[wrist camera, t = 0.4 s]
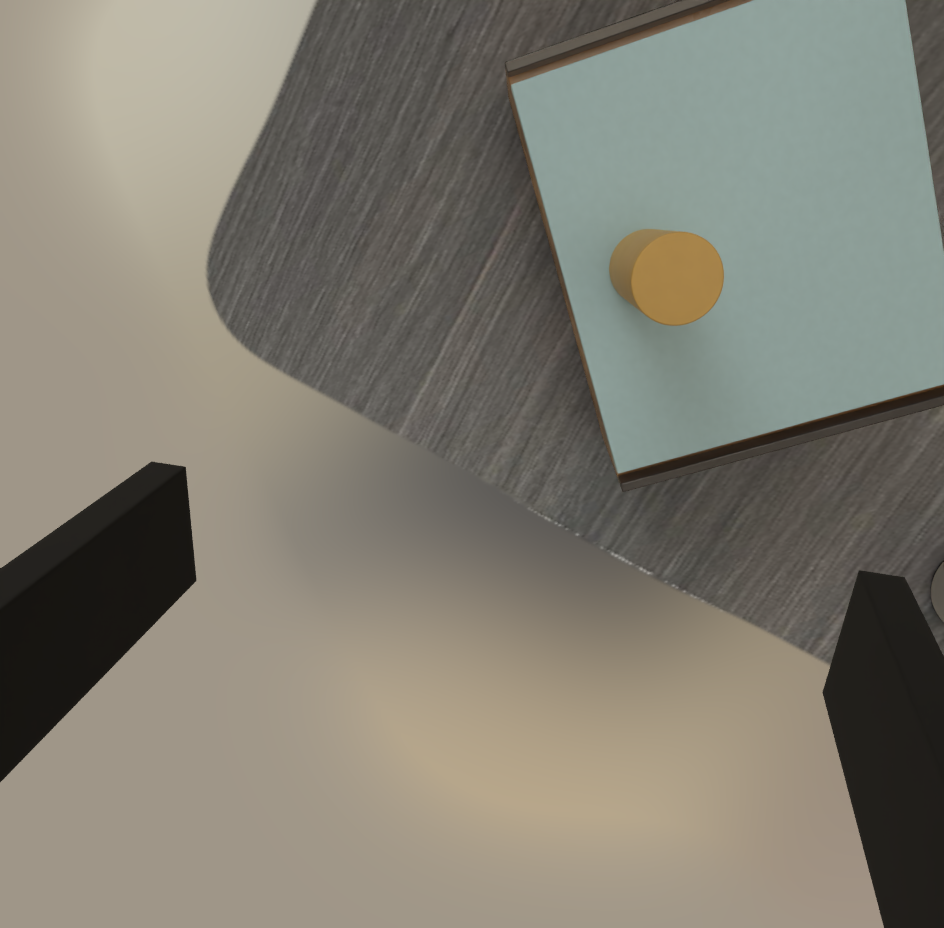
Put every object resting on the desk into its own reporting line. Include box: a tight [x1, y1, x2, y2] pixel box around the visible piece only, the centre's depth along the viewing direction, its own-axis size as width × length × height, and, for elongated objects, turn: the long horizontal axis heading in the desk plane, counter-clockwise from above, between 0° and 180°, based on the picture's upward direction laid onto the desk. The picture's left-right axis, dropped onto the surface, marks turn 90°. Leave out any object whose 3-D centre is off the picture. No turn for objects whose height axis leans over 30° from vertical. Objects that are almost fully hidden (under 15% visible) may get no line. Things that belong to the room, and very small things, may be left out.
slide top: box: [511, 0, 944, 474], centre depth 30 cm, size 16×15×8 cm
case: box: [505, 0, 944, 492], centre depth 37 cm, size 18×15×9 cm
